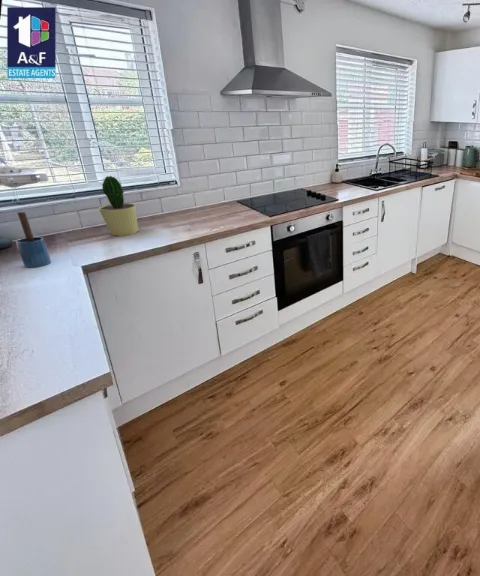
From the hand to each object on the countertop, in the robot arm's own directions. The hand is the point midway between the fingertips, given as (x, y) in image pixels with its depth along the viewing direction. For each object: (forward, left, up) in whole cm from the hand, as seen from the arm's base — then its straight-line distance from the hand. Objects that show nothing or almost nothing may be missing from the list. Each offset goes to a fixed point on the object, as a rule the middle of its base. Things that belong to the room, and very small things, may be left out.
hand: (25, 179), depth 154 cm
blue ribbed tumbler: (+1, -25, -30) cm, 39 cm away
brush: (+1, -25, -29) cm, 39 cm away
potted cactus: (+30, +13, -30) cm, 44 cm away
